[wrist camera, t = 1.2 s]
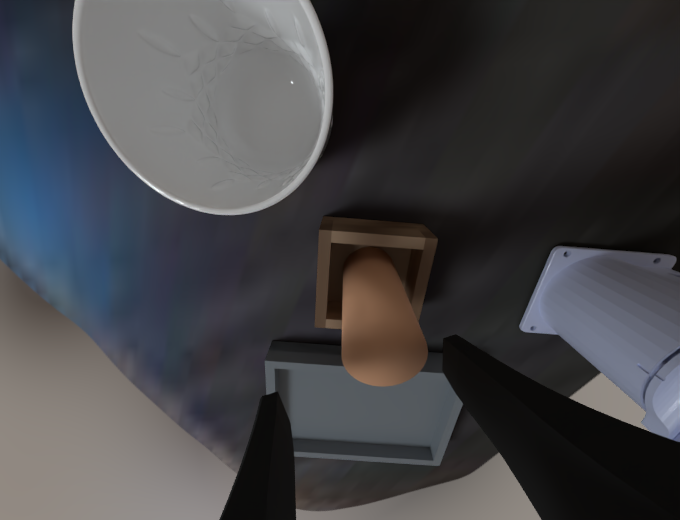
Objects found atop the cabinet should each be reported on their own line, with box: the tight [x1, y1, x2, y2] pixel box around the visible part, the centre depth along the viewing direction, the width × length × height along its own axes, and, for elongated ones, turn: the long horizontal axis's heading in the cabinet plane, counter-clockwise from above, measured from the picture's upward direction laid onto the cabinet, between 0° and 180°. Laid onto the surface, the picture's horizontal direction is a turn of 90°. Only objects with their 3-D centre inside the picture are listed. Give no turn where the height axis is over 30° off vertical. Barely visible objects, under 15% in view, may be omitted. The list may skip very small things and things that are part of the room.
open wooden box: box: [315, 216, 438, 329], centre depth 20 cm, size 8×8×4 cm
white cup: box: [72, 0, 333, 215], centre depth 13 cm, size 8×8×10 cm
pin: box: [342, 247, 428, 387], centre depth 16 cm, size 4×4×9 cm
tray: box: [265, 341, 463, 466], centre depth 26 cm, size 18×13×2 cm
